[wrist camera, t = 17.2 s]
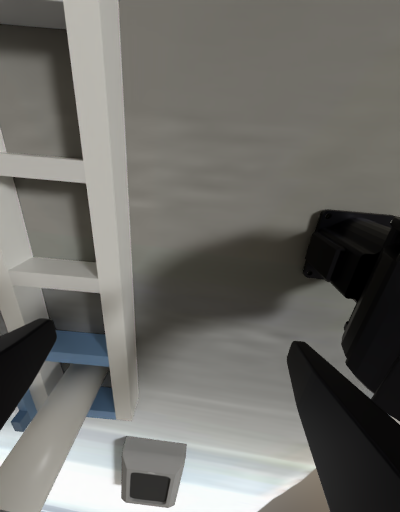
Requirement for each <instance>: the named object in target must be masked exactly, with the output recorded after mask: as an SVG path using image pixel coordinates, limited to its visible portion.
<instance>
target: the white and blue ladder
mask: <svg viewBox="0 0 400 512" xmlns="http://www.w3.org/2000/svg"><path fill="white" fill-rule="evenodd" d="M0 24H8V25H20V26H31V27H43V28H54V29H66V30H67V36H68V44H69V51H70V59H71V67H72V75H73V83H74V91H75V99H76V107H77V115H78V122H79V130H80V138H81V146H82V154H83V159H77V158H66V157H55V156H43V155H32V154H21V153H10V152H6V148H5V144H4V140H3V136H2V132H1V128H0V311H1V313H2V316H3V319H4V322H5V324H6V327H7V330H8V333H9V332H11V331H13V330H15V329H17V328H20V327H22V326H24V325H26V324H28V323H30V322H32V321H35V320H37V319H39V318H47V319H49V316H48V312H47V309H46V305H45V301H44V297H43V293H42V289H41V288H49V289H60V290H71V291H81V292H92V293H100V296H101V304H102V312H103V320H104V328H105V334H94V333H83V332H72V331H61V330H56V334H57V339H56V342H55V344H54V346H53V348H52V349H51V351H50V353H49V355H48V356H47V358H46V360H45V362H44V364H43V365H42V367H41V369H40V371H39V373H38V374H37V376H36V378H35V379H34V381H33V383H32V384H31V386H30V387H29V389H28V391H27V392H26V393H25V395H24V396H23V398H22V399H21V401H20V402H19V404H18V405H17V406H18V409H19V412H18V413H17V414H16V416H15V417H14V418H13V420H12V421H11V423H12V425H13V428H14V430H15V431H20V432H24V431H25V429H26V428H27V426H28V425H29V423H30V422H31V421H32V420H33V418H34V417H35V415H36V414H37V412H38V411H39V409H40V408H41V407H42V405H43V404H44V402H45V401H46V399H47V398H48V396H49V395H50V393H51V392H52V390H53V389H54V387H55V386H56V385H57V383H58V382H59V380H60V379H61V377H62V376H63V371H62V367H61V363H60V362H62V363H73V364H84V365H94V366H105V367H110V375H111V383H112V388H109V387H100V389H99V391H98V393H97V395H96V397H95V399H94V401H93V403H92V405H91V408H90V410H89V412H88V414H87V416H86V417H92V418H103V419H114V420H124V421H132V419H133V416H134V413H135V409H136V406H137V402H138V399H139V387H138V368H137V349H136V330H135V310H134V291H133V272H132V252H131V233H130V214H129V194H128V175H127V156H126V136H125V117H124V98H123V78H122V59H121V40H120V20H119V1H118V0H0ZM13 177H22V178H33V179H44V180H55V181H66V182H77V183H86V186H87V194H88V201H89V209H90V217H91V225H92V233H93V241H94V249H95V257H96V262H86V261H75V260H64V259H53V258H42V257H33V254H32V250H31V246H30V242H29V238H28V234H27V230H26V226H25V222H24V218H23V215H22V211H21V207H20V203H19V199H18V195H17V191H16V187H15V183H14V179H13Z"/></svg>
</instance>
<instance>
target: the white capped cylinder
mask: <svg viewBox="0 0 400 512" xmlns="http://www.w3.org/2000/svg"><path fill="white" fill-rule="evenodd" d="M108 369H109V367H105V366H94V365H84V364H73V363H71V364H70V366H69V367H68V368H67V370H66V371H65V373H64V374H63V376H62V377H61V379H60V380H59V382H58V383H57V385H56V386H55V387H54V389H53V390H52V392H51V393H50V395H49V396H48V398H47V399H46V401H45V402H44V404H43V405H42V407H41V408H40V409H39V411H38V412H37V414H36V415H35V417H34V418H33V420H32V421H31V423H30V424H29V426H28V427H27V429H26V430H25V431H24V433H23V434H22V436H21V437H20V439H19V440H18V442H17V443H16V445H15V446H14V448H13V449H12V450H11V452H10V453H9V455H8V456H7V458H6V459H5V461H4V462H3V464H2V465H1V467H0V512H40V511H41V509H42V507H43V505H44V503H45V501H46V499H47V497H48V495H49V493H50V491H51V489H52V486H53V484H54V482H55V480H56V478H57V476H58V474H59V472H60V470H61V468H62V466H63V464H64V462H65V459H66V457H67V455H68V453H69V451H70V449H71V447H72V445H73V443H74V441H75V439H76V437H77V435H78V432H79V430H80V428H81V426H82V424H83V422H84V420H85V418H86V416H87V414H88V412H89V410H90V408H91V405H92V403H93V401H94V399H95V397H96V395H97V393H98V391H99V389H100V387H101V385H102V383H103V381H104V378H105V376H106V374H107V372H108Z"/></svg>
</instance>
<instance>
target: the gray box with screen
mask: <svg viewBox="0 0 400 512" xmlns="http://www.w3.org/2000/svg"><path fill="white" fill-rule="evenodd" d="M186 446H187V444H183V443H175V442H168V441H160V440H153V439H146V438H138V437H131V436H127V437H126V440H125V443H124V447H123V452H122V490H121V498H122V499H123V500H124V501H125V502H126V503H134V504H142V505H150V506H158V507H166V508H169V507H171V506H174V505H175V501H176V497H177V493H178V488H179V484H180V480H181V476H182V472H183V468H184V463H185V458H186Z"/></svg>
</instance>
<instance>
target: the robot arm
mask: <svg viewBox="0 0 400 512" xmlns="http://www.w3.org/2000/svg"><path fill="white" fill-rule="evenodd" d="M328 213H329V216H328V217H327V218H325V216H326V214H328ZM391 220H392V222H391V223H390V221H391ZM305 259H306V262H305V266H304V269H303V274H304V275H305V276H306V277H307V278H316V279H325V280H326V281H327V282H330V283H331V284H332V285H333V286H334V287H335V288H336V289H337V290H338V291H339V292H340V293H341V294H342V295H343V296H344V297H345V298H348V299H353V300H354V301H355V302H356V306H355V308H354V310H353V312H352V314H351V317H350V319H349V321H347V322H346V324H345V326H344V331H345V332H344V334H343V336H342V343H341V345H342V348H343V351H344V353H345V356H346V358H347V359H346V362H345V363H346V365H347V366H348V367H349V369H350V370H351V371H352V373H353V374H354V375H355V376H356V378H357V379H358V380H359V381H360V382H361V383H362V384H363V385H364V386H365V387H366V388H367V389H369V390H370V391H371V392H372V393H374V395H373V397H372V398H371V399H370V398H368V397H367V396H366V395H365V394H364V393H363V392H362V391H360V390H359V389H358V388H357V387H356V386H355V385H354V384H352V383H351V382H350V381H349V380H348V379H347V378H346V377H344V376H343V375H342V374H341V373H340V372H339V371H338V370H336V369H335V368H334V367H333V366H332V365H331V364H330V363H328V362H327V361H326V360H325V359H324V358H323V357H322V356H320V355H319V354H318V353H317V352H316V351H315V350H313V349H312V348H311V347H310V346H309V345H308V344H307V343H305V342H301V341H293V342H292V344H291V347H290V350H289V353H288V356H287V365H288V369H289V374H290V378H291V383H292V388H293V392H294V397H295V401H296V405H297V409H298V412H299V416H300V419H301V422H302V425H303V428H304V431H305V434H306V437H307V441H308V444H309V447H310V450H311V453H312V456H313V459H314V462H315V466H316V469H317V472H318V475H319V478H320V481H321V484H322V487H323V490H324V493H325V497H326V500H327V503H328V506H329V509H330V512H400V425H399V424H398V423H397V422H396V421H395V420H394V419H393V418H391V417H390V416H392V417H394V418H395V419H397V420H398V421H400V217H396V216H393V215H384V214H373V213H362V212H351V211H340V210H329V209H327V210H324V211H323V212H322V213H321V214H320V217H319V221H318V224H317V227H316V230H315V232H314V233H313V234H312V237H311V241H310V244H309V247H308V250H307V254H306V257H305ZM308 271H311V272H310V273H308V274H307V272H308ZM56 339H57V334H56V330H55V326H54V322H53V320H52V319H47V318H39V319H37V320H35V321H32V322H30V323H28V324H26V325H24V326H22V327H20V328H17V329H15V330H13V331H11V332H9V333H7V334H5V335H2V336H0V430H1V429H2V427H3V426H4V424H5V423H6V421H7V420H8V418H9V417H10V416H11V414H12V413H13V411H14V410H15V408H16V407H17V405H18V404H19V402H20V401H21V399H22V398H23V396H24V395H25V393H26V392H27V391H28V389H29V387H30V386H31V384H32V383H33V381H34V379H35V378H36V376H37V374H38V373H39V371H40V369H41V367H42V365H43V364H44V362H45V360H46V358H47V356H48V355H49V353H50V351H51V349H52V348H53V346H54V344H55V342H56ZM388 414H389V415H390V416H389V415H388Z"/></svg>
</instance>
